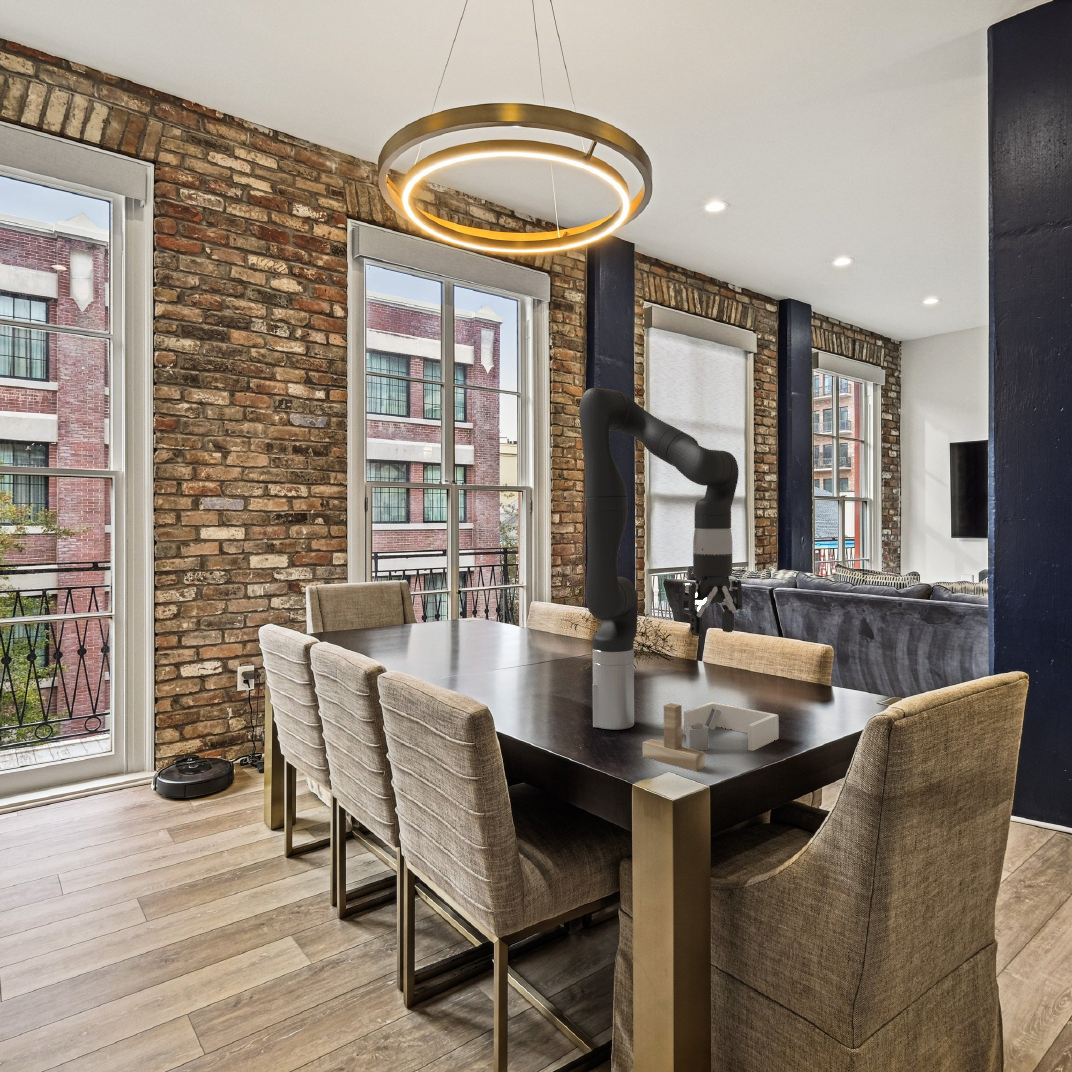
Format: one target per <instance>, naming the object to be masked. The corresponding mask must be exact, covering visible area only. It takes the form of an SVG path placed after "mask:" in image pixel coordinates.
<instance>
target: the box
mask: <svg viewBox="0 0 1072 1072" xmlns="http://www.w3.org/2000/svg"><path fill="white" fill-rule="evenodd" d="M712 707H713V708H715V709H718V710H720V711H721V714H720V717H719V719H718V722H717V724H716V726H717V727H716V728H721V727H722V728H721V729H725V728H726V730H730V729H732V730H731V731H734V732H740V733H745V734H747V750H748V751H751V752H753V751H755V750H758V749H760V748H763V747H764V746H766V745H768V744H770V743H773V742H774V740H775V741H778V739H779V725H780V724H779V723H780V722H779V714H777V713H771V712H767V711H766V712H765V711H761V710H755V709H750V708H745V707H739V706H735V705H728V704H723V703H719V702H713V701H710V702H707V703H704V704H701V705H699V706H696V707H692V708H690V709H687V710H685V711H683V735H684V736H686V728H689V727H691V725H692V723H697V722H701V723H702V725H703V726H705V723H706V720H707V718H708V716H709V713H710V711H711V708H712Z"/></svg>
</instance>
